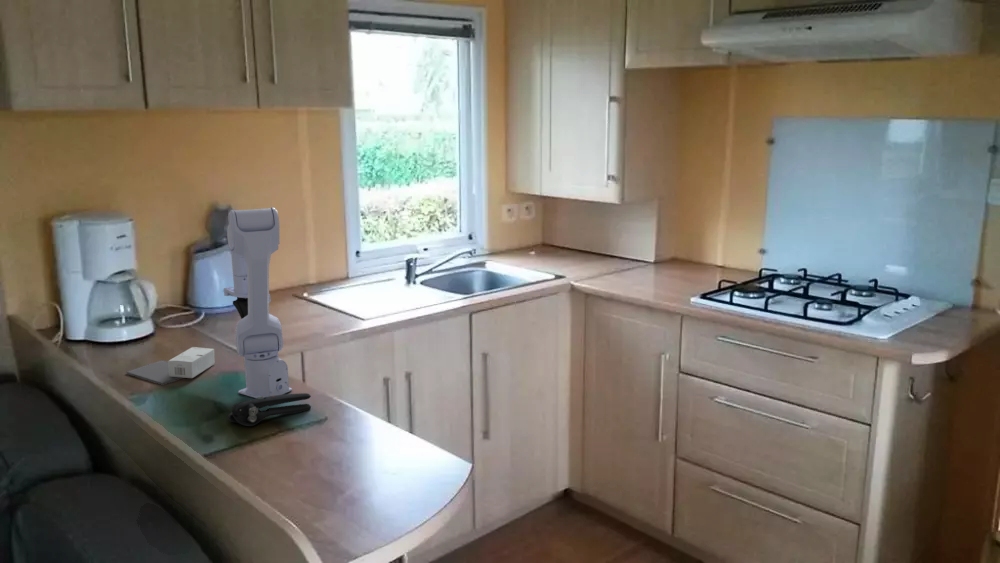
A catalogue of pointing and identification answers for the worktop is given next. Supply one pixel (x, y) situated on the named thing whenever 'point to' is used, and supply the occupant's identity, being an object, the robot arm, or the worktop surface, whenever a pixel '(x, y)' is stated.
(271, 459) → the worktop surface
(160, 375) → the mat
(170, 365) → the skincare box
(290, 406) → the can opener
